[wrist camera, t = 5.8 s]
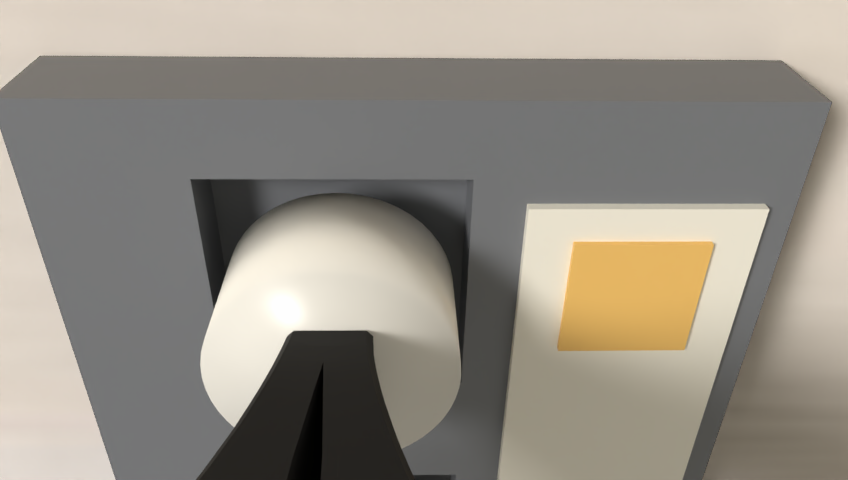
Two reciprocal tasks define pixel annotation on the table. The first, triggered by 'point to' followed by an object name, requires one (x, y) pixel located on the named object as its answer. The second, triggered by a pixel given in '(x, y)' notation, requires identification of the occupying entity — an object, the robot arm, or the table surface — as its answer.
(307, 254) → the button
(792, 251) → the table surface
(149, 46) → the table surface
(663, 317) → the button board
